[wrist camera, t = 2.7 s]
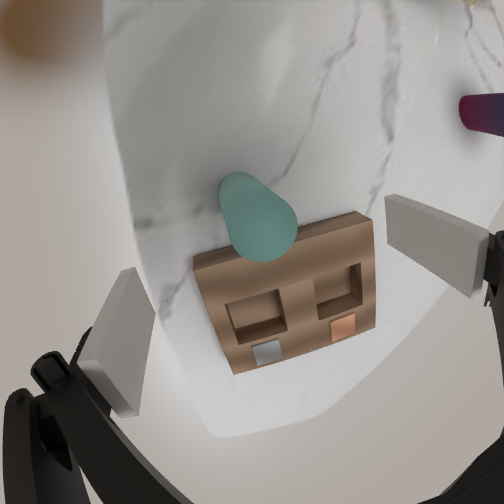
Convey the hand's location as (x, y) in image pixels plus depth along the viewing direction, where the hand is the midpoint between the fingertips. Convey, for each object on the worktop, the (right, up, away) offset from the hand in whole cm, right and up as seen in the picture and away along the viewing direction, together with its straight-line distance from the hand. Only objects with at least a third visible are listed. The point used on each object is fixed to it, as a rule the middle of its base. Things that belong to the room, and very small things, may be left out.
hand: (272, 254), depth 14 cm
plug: (-2, +6, +14) cm, 15 cm away
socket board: (+3, -4, +19) cm, 19 cm away
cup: (+29, +20, +14) cm, 38 cm away
